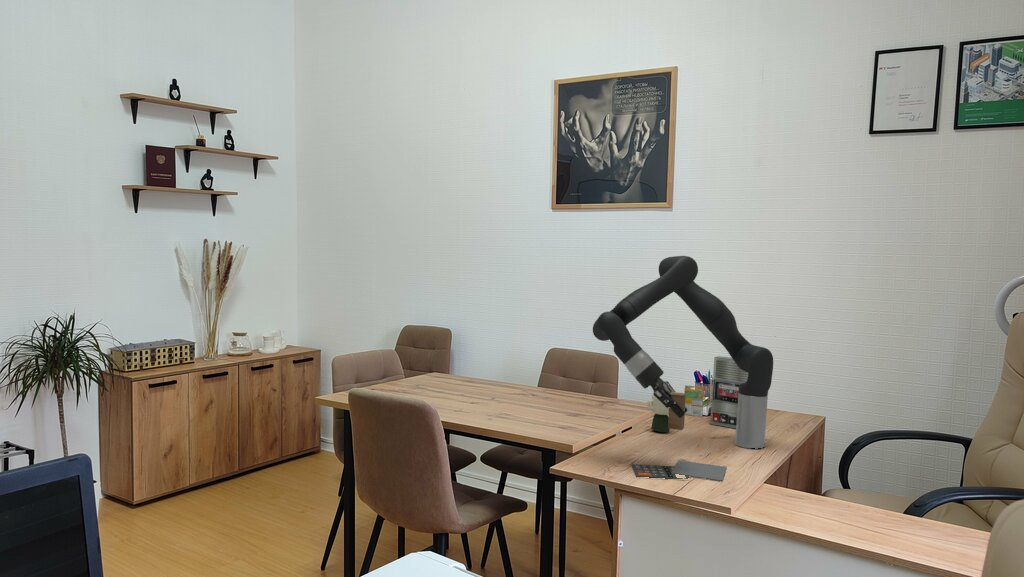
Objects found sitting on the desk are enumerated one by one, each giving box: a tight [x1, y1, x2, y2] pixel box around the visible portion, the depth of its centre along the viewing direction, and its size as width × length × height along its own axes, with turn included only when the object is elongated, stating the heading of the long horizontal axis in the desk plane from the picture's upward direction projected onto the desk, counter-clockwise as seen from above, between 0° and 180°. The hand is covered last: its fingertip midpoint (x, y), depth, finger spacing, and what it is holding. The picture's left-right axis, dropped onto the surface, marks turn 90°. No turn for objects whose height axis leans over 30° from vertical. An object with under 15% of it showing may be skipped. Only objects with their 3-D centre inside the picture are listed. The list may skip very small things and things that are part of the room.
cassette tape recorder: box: [708, 355, 748, 429], centre depth 266 cm, size 14×6×25 cm, turn 55°
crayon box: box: [683, 385, 705, 417], centre depth 283 cm, size 7×3×12 cm, turn 77°
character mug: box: [646, 393, 671, 433], centre depth 254 cm, size 11×7×13 cm, turn 103°
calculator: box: [631, 463, 691, 480], centre depth 206 cm, size 12×1×15 cm
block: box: [668, 391, 686, 431], centre depth 209 cm, size 4×4×10 cm
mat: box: [671, 459, 727, 482], centre depth 209 cm, size 14×14×1 cm
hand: (683, 414), depth 209 cm, fingers closed on block, 4 cm apart
